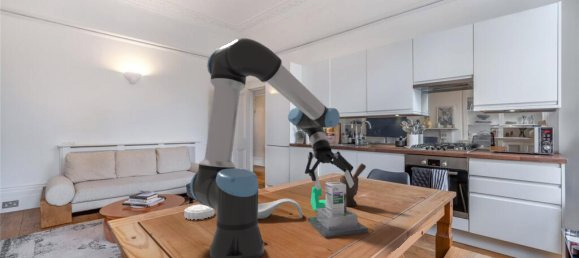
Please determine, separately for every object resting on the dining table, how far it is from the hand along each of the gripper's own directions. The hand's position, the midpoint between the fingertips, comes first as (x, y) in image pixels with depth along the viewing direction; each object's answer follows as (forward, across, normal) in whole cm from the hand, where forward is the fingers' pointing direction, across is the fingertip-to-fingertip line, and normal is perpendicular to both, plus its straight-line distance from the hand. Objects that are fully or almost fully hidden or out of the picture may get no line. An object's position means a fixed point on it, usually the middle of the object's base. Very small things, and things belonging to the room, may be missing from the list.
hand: (335, 186), depth 96 cm
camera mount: (-4, -2, -24) cm, 24 cm away
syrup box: (+11, +1, -7) cm, 13 cm away
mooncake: (-7, +50, -28) cm, 58 cm away
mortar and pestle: (-5, -19, -25) cm, 32 cm away
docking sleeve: (+12, +1, -8) cm, 14 cm away
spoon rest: (0, +20, -21) cm, 29 cm away
